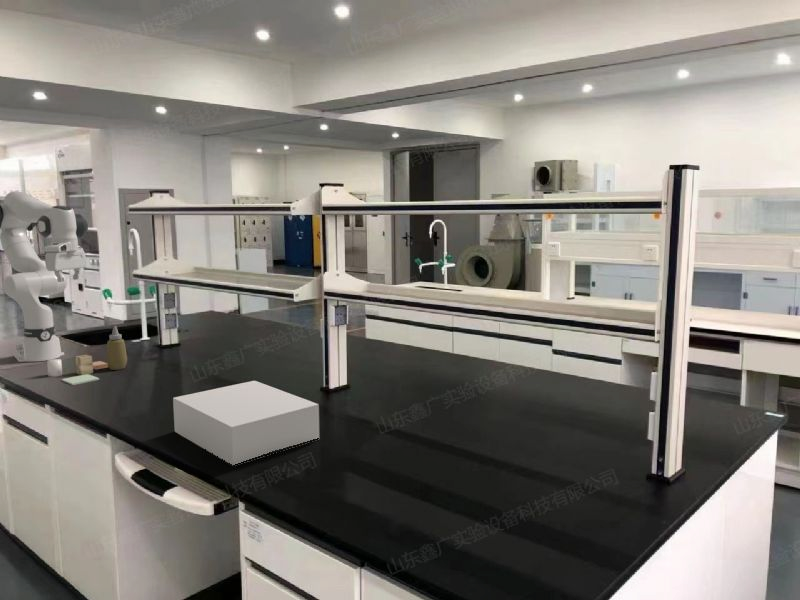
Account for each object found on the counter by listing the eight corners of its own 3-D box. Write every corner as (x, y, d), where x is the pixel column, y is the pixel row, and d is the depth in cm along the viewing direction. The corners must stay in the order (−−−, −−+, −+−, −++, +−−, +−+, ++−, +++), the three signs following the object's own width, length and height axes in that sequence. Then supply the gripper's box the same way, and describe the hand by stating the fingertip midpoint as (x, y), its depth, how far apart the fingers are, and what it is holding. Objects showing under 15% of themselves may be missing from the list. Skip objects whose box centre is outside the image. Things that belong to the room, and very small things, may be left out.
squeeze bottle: (102, 369, 257) (99, 327, 254) (119, 365, 264) (116, 324, 261) (115, 371, 253) (112, 328, 251) (132, 367, 260) (129, 325, 258)
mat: (61, 380, 240) (61, 379, 240) (88, 375, 247) (87, 374, 247) (72, 385, 233) (72, 383, 233) (99, 379, 241) (99, 378, 241)
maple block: (76, 373, 251) (75, 356, 250) (88, 371, 254) (87, 354, 253) (81, 375, 248) (80, 358, 247) (93, 372, 252) (91, 356, 251)
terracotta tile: (88, 367, 261) (88, 363, 261) (100, 365, 265) (100, 361, 265) (95, 370, 257) (95, 365, 257) (107, 368, 261) (107, 363, 261)
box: (255, 412, 203) (254, 380, 202) (319, 440, 178) (318, 404, 177) (174, 432, 184) (173, 397, 183) (233, 467, 159) (231, 427, 158)
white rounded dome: (46, 375, 248) (45, 360, 247) (59, 372, 252) (58, 358, 251) (51, 377, 245) (50, 362, 244) (64, 374, 248) (63, 360, 248)
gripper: (75, 245, 258) (78, 278, 260) (41, 247, 238) (44, 283, 240) (89, 245, 257) (91, 278, 259) (55, 247, 237) (59, 283, 239)
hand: (68, 280), depth 249 cm, fingers open, 8 cm apart
